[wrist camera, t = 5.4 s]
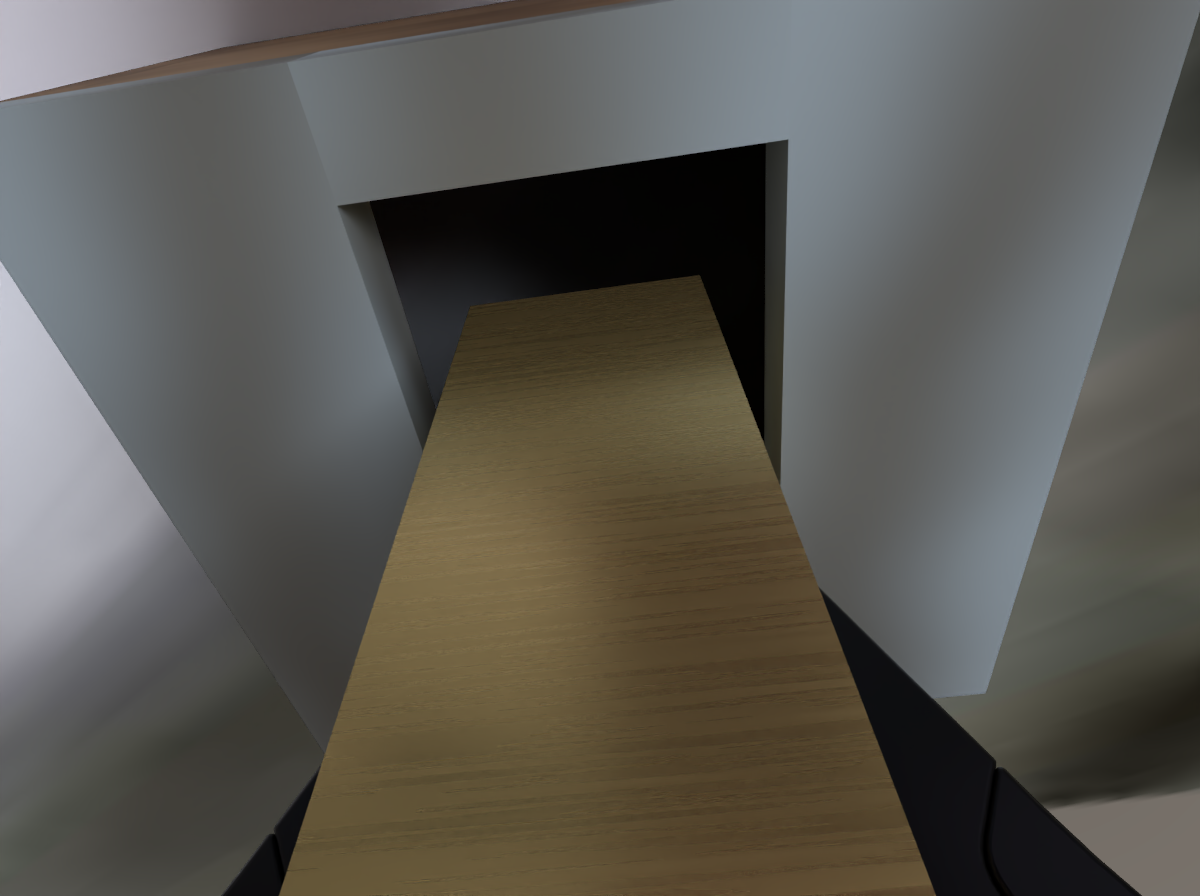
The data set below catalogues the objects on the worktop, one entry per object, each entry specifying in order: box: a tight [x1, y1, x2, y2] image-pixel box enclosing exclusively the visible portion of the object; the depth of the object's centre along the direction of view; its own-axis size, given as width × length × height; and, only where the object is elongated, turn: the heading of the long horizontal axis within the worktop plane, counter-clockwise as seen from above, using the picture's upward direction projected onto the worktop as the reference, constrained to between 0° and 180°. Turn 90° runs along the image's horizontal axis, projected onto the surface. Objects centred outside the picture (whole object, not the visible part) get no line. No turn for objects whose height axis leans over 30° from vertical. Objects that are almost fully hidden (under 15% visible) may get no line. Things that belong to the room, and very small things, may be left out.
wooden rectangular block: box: [279, 275, 936, 896], centre depth 7 cm, size 3×6×6 cm, turn 8°
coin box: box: [0, 0, 1200, 754], centre depth 12 cm, size 12×11×7 cm
